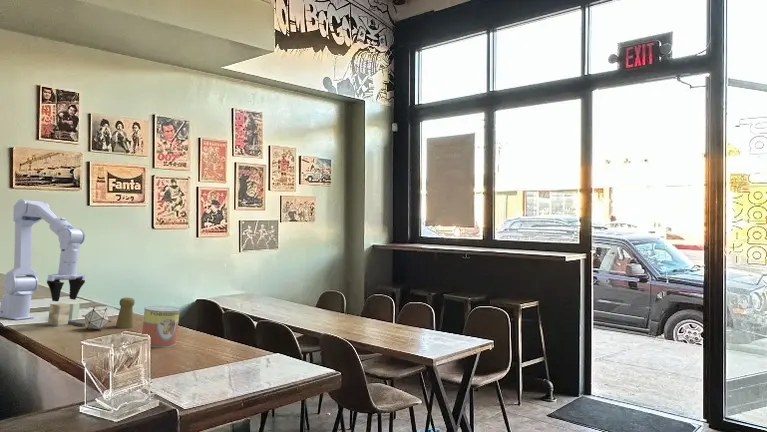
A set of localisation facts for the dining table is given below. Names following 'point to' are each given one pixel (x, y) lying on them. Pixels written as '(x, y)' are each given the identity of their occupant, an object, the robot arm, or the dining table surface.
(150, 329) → the canned food
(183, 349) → the dining table surface
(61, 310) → the birch block
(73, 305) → the sage block
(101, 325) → the game die
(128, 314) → the cork
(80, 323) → the rubber trip strip
